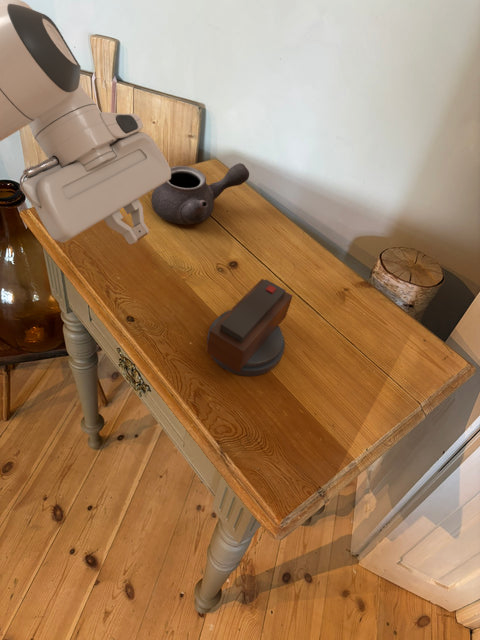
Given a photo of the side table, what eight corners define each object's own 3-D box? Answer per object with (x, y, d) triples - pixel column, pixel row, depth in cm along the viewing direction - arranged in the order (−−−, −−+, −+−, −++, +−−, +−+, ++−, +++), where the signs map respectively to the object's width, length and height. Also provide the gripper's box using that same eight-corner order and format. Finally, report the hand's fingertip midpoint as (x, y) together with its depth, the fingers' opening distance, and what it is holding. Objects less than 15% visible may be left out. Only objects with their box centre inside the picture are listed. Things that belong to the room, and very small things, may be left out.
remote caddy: (252, 386, 65) (262, 355, 60) (190, 347, 68) (194, 313, 63) (298, 329, 74) (310, 297, 68) (241, 296, 77) (249, 263, 72)
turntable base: (191, 348, 70) (192, 342, 69) (234, 305, 78) (236, 299, 77) (257, 390, 67) (259, 384, 66) (295, 341, 74) (298, 335, 73)
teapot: (170, 244, 86) (173, 198, 78) (142, 197, 94) (142, 151, 87) (257, 226, 93) (267, 183, 86) (224, 185, 102) (230, 142, 94)
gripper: (21, 164, 50) (94, 272, 55) (146, 111, 63) (198, 202, 67) (2, 184, 55) (72, 282, 59) (123, 130, 67) (172, 214, 72)
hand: (140, 238), depth 63 cm, fingers closed
